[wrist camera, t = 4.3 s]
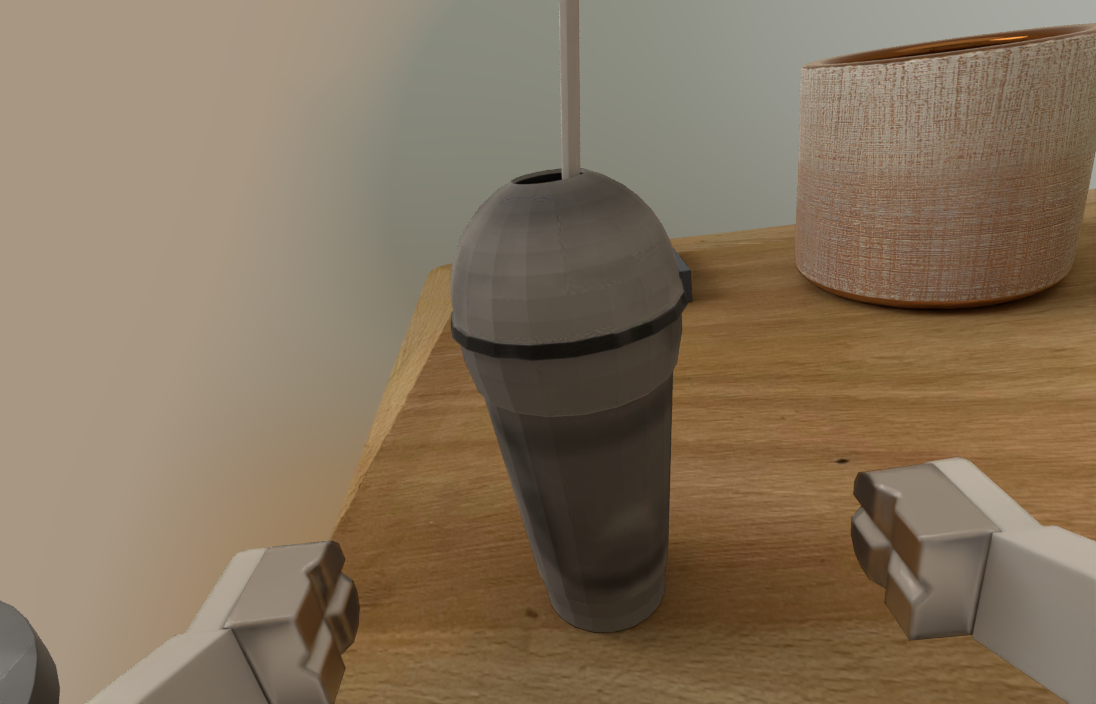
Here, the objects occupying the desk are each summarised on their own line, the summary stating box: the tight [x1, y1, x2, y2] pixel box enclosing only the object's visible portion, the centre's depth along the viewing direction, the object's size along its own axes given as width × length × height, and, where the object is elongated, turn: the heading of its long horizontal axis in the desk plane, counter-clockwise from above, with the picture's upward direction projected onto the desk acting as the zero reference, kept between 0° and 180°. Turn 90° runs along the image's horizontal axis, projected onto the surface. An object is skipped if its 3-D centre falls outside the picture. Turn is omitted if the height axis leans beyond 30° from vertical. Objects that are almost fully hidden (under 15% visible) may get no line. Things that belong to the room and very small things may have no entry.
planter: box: [795, 23, 1096, 309], centre depth 44 cm, size 18×18×16 cm
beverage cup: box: [451, 0, 688, 632], centre depth 20 cm, size 7×7×20 cm
